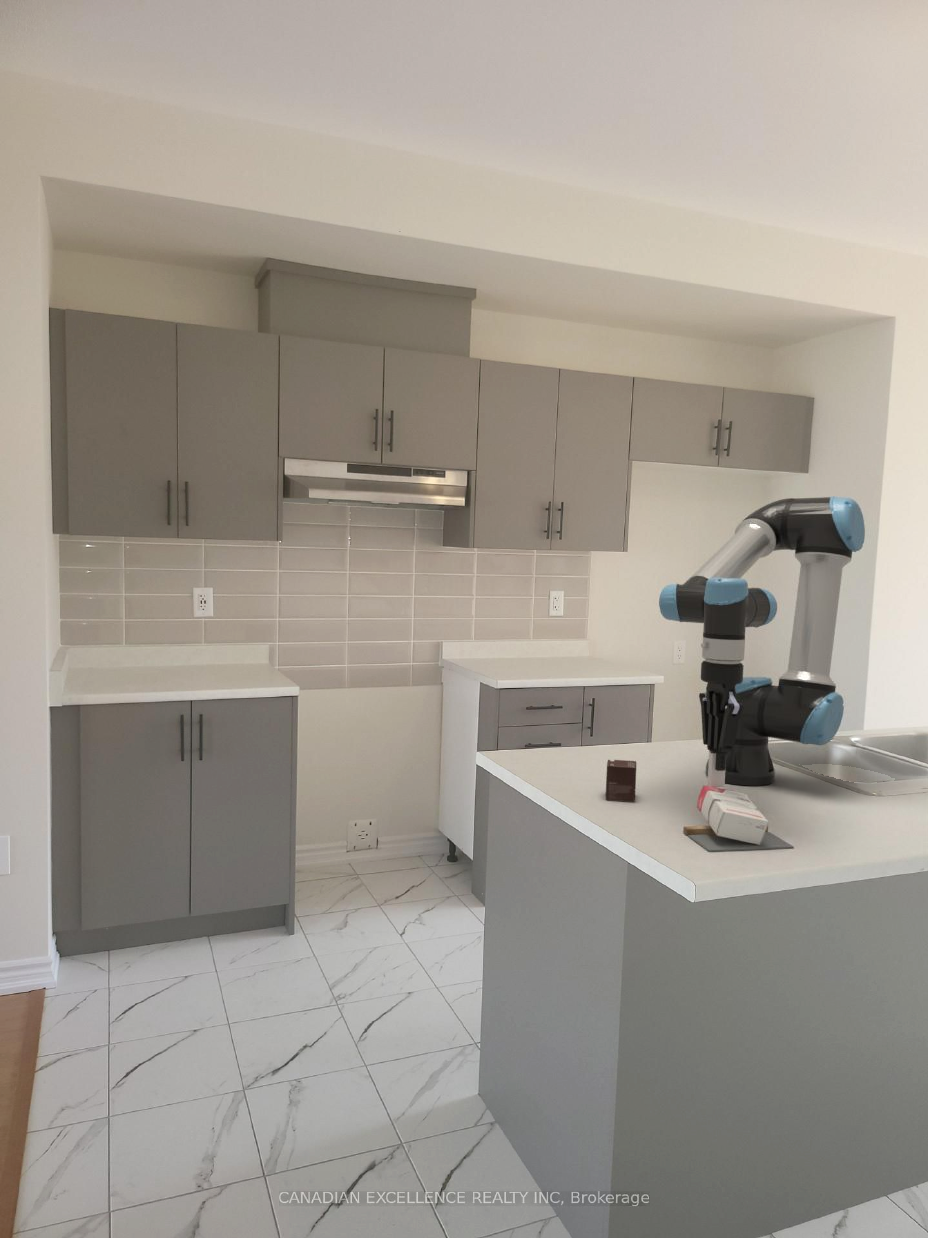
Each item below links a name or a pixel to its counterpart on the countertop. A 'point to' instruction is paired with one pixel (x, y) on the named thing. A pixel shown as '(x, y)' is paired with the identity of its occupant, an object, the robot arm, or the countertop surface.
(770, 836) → the mat
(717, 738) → the robot arm
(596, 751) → the countertop surface
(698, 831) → the batten
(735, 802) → the ink box
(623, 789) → the box
